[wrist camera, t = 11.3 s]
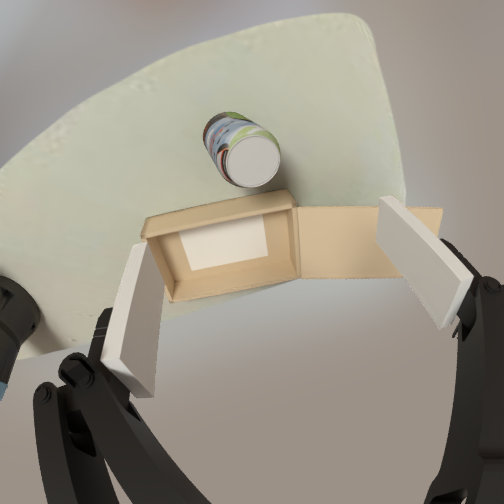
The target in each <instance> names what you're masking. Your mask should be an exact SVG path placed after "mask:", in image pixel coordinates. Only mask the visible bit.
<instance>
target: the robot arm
mask: <svg viewBox="0 0 504 504" xmlns="http://www.w3.org/2000/svg"><path fill="white" fill-rule="evenodd" d="M375 242H376V243H377V244H378V245H379V247H380V248H381V249H382V250H383V252H384V253H385V254H386V255H387V257H388V258H389V259H390V261H391V262H392V263H393V264H394V266H395V267H396V268H397V270H398V271H399V272H400V274H401V275H402V276H403V278H404V279H405V281H406V282H407V283H408V285H409V286H410V287H411V289H412V290H413V292H414V293H415V294H416V296H417V297H418V299H419V300H420V302H421V303H422V304H423V306H424V307H425V309H426V310H427V312H428V313H429V315H430V316H431V318H432V319H433V321H434V322H435V324H436V325H437V327H438V329H439V330H440V329H442V328H444V327H447V326H449V325H451V324H452V323H453V321H454V319H455V316H456V315H458V317H459V318H460V321H459V324H458V325H457V327H456V329H455V331H454V333H453V335H452V338H454V337H455V335H456V333H457V332H458V337H457V339H458V352H457V355H458V356H457V371H456V383H455V394H454V401H453V409H452V416H451V421H450V427H449V433H448V438H447V443H446V448H445V452H444V456H443V460H442V464H441V468H440V471H439V473H438V475H437V476H436V478H435V479H434V480H433V482H432V484H431V486H430V488H429V490H428V493H427V496H426V499H425V501H424V504H461V502H462V501H463V500H464V499H465V498H466V497H467V499H466V502H465V504H504V285H501V284H500V283H499V282H498V281H497V280H496V279H494V278H492V277H489V276H484V277H482V276H481V275H480V274H479V272H478V271H477V270H476V269H475V268H474V267H473V266H472V265H471V264H470V263H469V262H468V260H467V259H466V258H464V257H463V255H462V254H461V253H460V252H458V250H457V249H456V248H455V247H454V246H453V245H452V244H451V243H449V242H447V241H446V240H444V239H438V238H437V236H436V235H434V234H433V233H432V232H431V231H430V230H429V229H428V228H427V227H426V226H425V225H424V224H423V223H422V222H421V221H420V220H419V219H418V218H417V217H416V216H414V215H413V214H412V213H411V212H410V211H409V210H408V209H407V208H406V207H405V206H403V205H402V204H401V203H400V202H399V201H398V200H397V199H395V198H394V197H393V196H392V195H391V196H385V197H380V201H379V212H378V223H377V232H376V241H375ZM164 289H165V282H164V280H163V278H162V276H161V273H160V271H159V269H158V266H157V264H156V262H155V259H154V257H153V254H152V252H151V250H150V247H149V245H148V242H144V243H139V244H135V245H133V247H132V250H131V253H130V256H129V259H128V262H127V265H126V268H125V271H124V274H123V277H122V280H121V283H120V287H119V290H118V293H117V297H116V300H115V304H114V307H113V308H106V309H104V311H103V312H102V314H101V315H100V317H99V318H98V321H97V325H96V330H95V332H94V335H93V337H94V338H93V339H92V342H91V346H90V350H89V354H88V358H87V357H86V356H85V355H84V354H82V353H79V352H77V353H72V354H70V355H68V356H67V357H66V358H65V359H64V360H63V361H62V363H61V364H60V367H59V371H58V373H59V378H60V379H61V380H62V381H63V382H65V383H66V385H64V386H61V387H58V388H57V387H56V386H55V385H54V384H53V383H51V382H44V383H42V384H41V385H39V386H38V388H37V389H36V390H35V393H34V397H33V410H34V425H35V435H36V444H37V452H38V459H39V465H40V470H41V476H42V481H43V485H44V490H45V494H46V498H47V502H48V504H119V501H118V499H117V496H116V493H115V491H114V488H113V485H112V482H111V479H110V476H109V473H108V470H107V467H106V464H105V461H104V458H105V460H106V462H107V464H108V466H109V467H110V469H111V471H112V472H113V474H114V476H115V477H116V479H117V481H118V482H119V484H120V485H121V487H122V488H123V490H124V491H125V493H126V494H127V496H128V497H129V499H130V500H131V502H132V503H133V504H211V503H210V502H209V501H208V500H207V499H206V498H205V497H204V495H203V494H202V493H201V492H200V491H199V490H198V489H197V488H196V487H195V486H194V485H193V483H192V482H191V481H190V480H189V479H188V478H187V477H186V475H185V474H184V473H183V472H182V471H181V470H180V468H179V467H178V466H177V465H176V463H175V462H174V461H173V460H172V459H171V457H170V456H169V455H168V454H167V452H166V451H165V450H164V448H163V447H162V446H161V444H160V443H159V442H158V440H157V439H156V437H155V436H154V435H153V433H152V432H151V430H150V429H149V428H148V426H147V425H146V423H145V422H144V420H143V419H142V417H141V416H140V414H139V413H138V411H137V410H136V408H135V407H134V405H133V404H132V403H131V402H130V401H129V396H130V392H131V393H132V394H133V395H134V396H135V397H136V398H149V397H154V388H155V387H154V386H155V373H156V360H157V349H158V339H159V329H160V320H161V312H162V304H163V296H164ZM39 321H40V312H39V309H38V307H37V305H36V303H35V302H34V300H33V299H32V297H31V296H30V295H29V294H28V293H27V292H26V291H25V290H24V289H23V288H22V287H21V286H20V285H18V284H17V283H15V282H14V281H12V280H10V279H8V278H6V277H2V276H0V401H1V400H2V398H3V396H4V393H5V390H6V388H7V387H8V385H7V384H8V381H9V378H10V375H11V372H12V369H13V366H14V363H15V360H16V358H17V355H18V352H19V349H20V347H21V345H22V344H23V343H24V342H25V341H26V340H27V339H28V338H29V337H30V336H31V335H32V334H33V333H34V331H35V330H36V328H37V326H38V324H39Z"/></svg>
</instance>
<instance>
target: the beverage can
mask: <svg viewBox="0 0 504 504" xmlns="http://www.w3.org/2000/svg"><path fill="white" fill-rule="evenodd" d="M203 141H204V145H205V147H206V149H207V151H208V152H209V154H210V156H211V158H212V160H213V161H214V163H215V165H216V167H217V168H218V170H219V172H220V174H221V175H222V177H223V178H224V179H225V180H226V181H228V182H229V183H231V184H233V185H235V186H238V187H246V188H248V187H250V188H251V187H258V186H261V185H263V184H265V183H267V182H268V181H269V180H271V179H272V178H273V176H274V175H275V174H276V172H277V170H278V168H279V164H280V148H279V144H278V142H277V140H276V138H275V137H274V136H273V135H272V134H271V133H270V132H269V131H268V130H266V129H264V128H263V127H261V126H259V125H258V124H256V123H254V122H253V121H251V120H249V119H247V118H246V117H244V116H242V115H240V114H238V113H235V112H223V113H220V114H218V115H216V116H214V117H213V118H212V119H211V120H210V121H209V122H208V123H207V125H206V127H205V129H204V133H203Z"/></svg>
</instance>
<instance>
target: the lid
mask: <svg viewBox="0 0 504 504" xmlns="http://www.w3.org/2000/svg"><path fill="white" fill-rule="evenodd" d="M406 208H407V209H408V210H409V211H410V212H411V213H412V214H413V215H414V216H416V217H417V218H418V219H419V220H420V221H421V222H422V223H423V224H424V225H425V226H426V227H427V228H428V229H429V230H430V231H431V232H432V233H433V234H434V235H436V236H438V232H439V228H440V223H441V219H442V214H443V208H435V207H406ZM378 212H379V206H320V207H297V213H298V227H299V243H300V261H301V279H364V278H365V279H367V278H403V276H402V275H401V274H400V272H399V271H398V270H397V268H396V267H395V266H394V264H393V263H392V262H391V261H390V259H389V258H388V257H387V255H386V254H385V253H384V252H383V250H382V249H381V248H380V247H379V245H378V244H377V243H376V242H375V241H376V232H377V223H378Z"/></svg>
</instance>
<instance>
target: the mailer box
mask: <svg viewBox="0 0 504 504" xmlns="http://www.w3.org/2000/svg"><path fill="white" fill-rule="evenodd" d="M140 236H141V239H142V241H143V243H144V242H148V245H149V247H150V250H151V252H152V254H153V257H154V259H155V262H156V264H157V266H158V269H159V271H160V273H161V276H162V278H163V280H164V282H165V289H164V291H165V294H166V296H167V298H168V300H169V302H170V303H175V302H180V301H186V300H192V299H197V298H203V297H208V296H213V295H219V294H224V293H229V292H235V291H240V290H245V289H250V288H255V287H260V286H265V285H270V284H274V283H279V282H284V281H289V280H293V279H298V278H301V267H300V249H299V233H298V218H297V205H296V202H295V200H294V198H293V197H292V195H291V194H290V192H289V190H288V189H282V190H277V191H271V192H266V193H260V194H255V195H249V196H244V197H239V198H234V199H229V200H224V201H219V202H214V203H210V204H205V205H200V206H196V207H191V208H187V209H182V210H178V211H173V212H169V213H165V214H161V215H156V216H152V217H148V218H146V220H145V223H144V226H143V229H142V232H141V234H140Z"/></svg>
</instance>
